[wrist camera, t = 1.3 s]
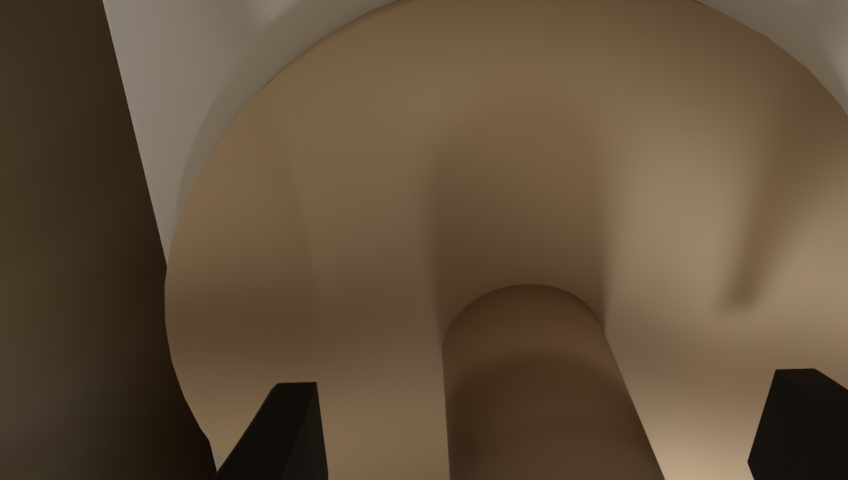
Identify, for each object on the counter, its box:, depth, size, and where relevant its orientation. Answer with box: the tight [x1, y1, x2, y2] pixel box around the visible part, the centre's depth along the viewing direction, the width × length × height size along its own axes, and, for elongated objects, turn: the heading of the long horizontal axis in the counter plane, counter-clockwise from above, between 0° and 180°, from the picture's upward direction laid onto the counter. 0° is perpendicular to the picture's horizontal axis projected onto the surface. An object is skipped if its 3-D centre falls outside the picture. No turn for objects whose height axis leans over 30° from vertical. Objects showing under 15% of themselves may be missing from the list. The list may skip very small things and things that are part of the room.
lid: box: [165, 0, 848, 480], centre depth 11 cm, size 13×13×5 cm
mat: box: [103, 0, 848, 471], centre depth 13 cm, size 13×13×1 cm
